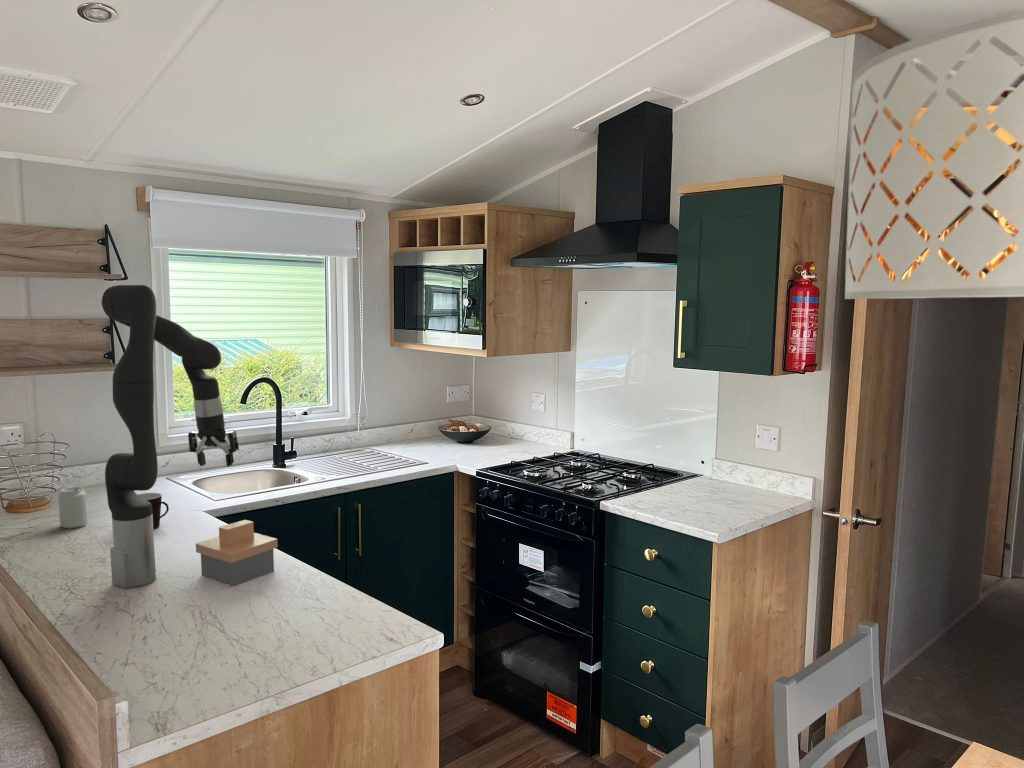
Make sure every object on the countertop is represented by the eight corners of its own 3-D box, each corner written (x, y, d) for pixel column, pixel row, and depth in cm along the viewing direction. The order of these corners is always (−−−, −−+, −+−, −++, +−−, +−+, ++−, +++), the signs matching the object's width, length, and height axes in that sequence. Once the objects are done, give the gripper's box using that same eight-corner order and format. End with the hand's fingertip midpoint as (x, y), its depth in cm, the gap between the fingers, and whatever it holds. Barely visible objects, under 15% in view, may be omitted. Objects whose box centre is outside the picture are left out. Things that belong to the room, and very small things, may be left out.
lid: (231, 563, 190) (230, 536, 189) (196, 552, 198) (194, 526, 197) (277, 547, 202) (276, 522, 201) (242, 537, 210) (241, 513, 209)
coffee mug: (128, 527, 239) (126, 496, 238) (156, 521, 245) (155, 491, 244) (143, 535, 231) (141, 503, 230) (172, 529, 237) (170, 498, 236)
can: (91, 525, 240) (88, 488, 239) (65, 531, 235) (62, 493, 234) (83, 520, 246) (80, 484, 244) (57, 526, 240) (54, 488, 239)
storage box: (232, 586, 192) (231, 555, 191) (201, 575, 199) (200, 546, 198) (274, 571, 203) (273, 542, 202) (243, 561, 210) (242, 533, 209)
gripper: (179, 416, 219) (187, 469, 223) (225, 416, 217) (232, 470, 221) (193, 409, 226) (200, 461, 230) (238, 409, 224) (245, 461, 228)
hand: (216, 465), depth 225 cm, fingers open, 8 cm apart
